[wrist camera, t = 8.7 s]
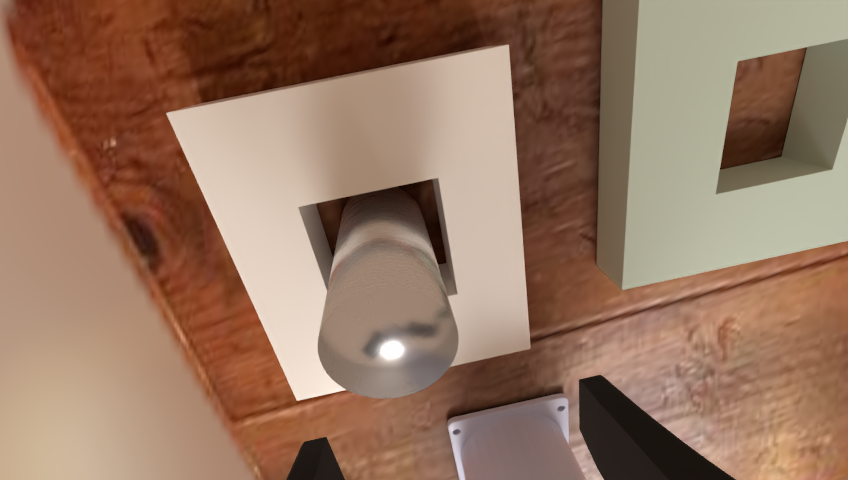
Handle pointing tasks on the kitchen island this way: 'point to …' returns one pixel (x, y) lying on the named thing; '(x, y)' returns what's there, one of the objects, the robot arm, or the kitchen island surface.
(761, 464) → the kitchen island surface
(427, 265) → the steel peg
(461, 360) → the cream square-hole board
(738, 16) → the socket block
